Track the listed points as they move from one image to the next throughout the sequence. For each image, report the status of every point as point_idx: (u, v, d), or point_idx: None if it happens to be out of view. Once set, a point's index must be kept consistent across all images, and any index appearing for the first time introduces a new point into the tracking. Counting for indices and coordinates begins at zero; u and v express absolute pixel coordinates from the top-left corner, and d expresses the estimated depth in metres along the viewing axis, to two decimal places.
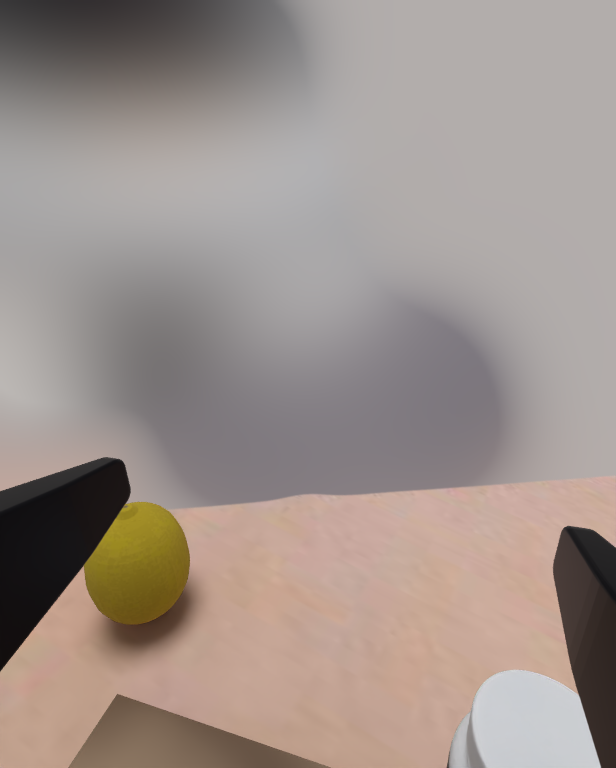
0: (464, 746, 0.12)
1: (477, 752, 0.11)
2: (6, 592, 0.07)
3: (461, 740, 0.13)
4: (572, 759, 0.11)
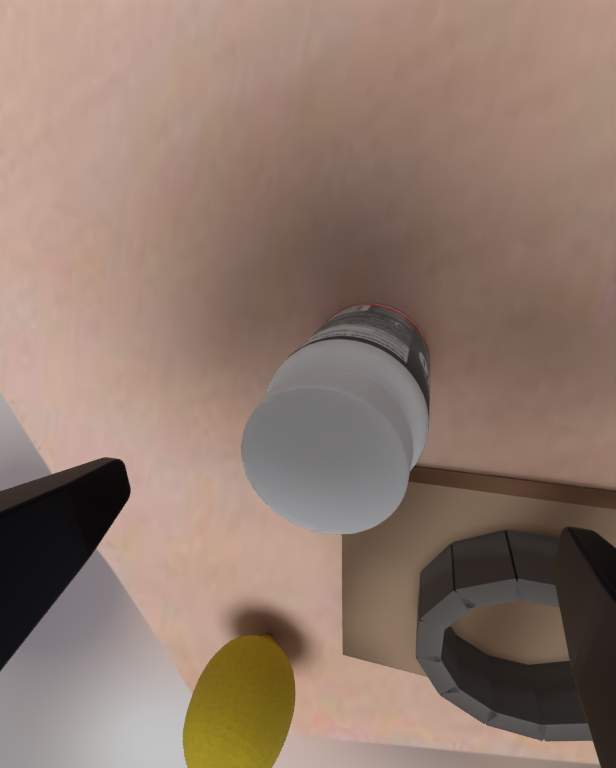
0: None
1: (347, 532, 0.10)
2: (6, 592, 0.07)
3: None
4: (329, 449, 0.09)
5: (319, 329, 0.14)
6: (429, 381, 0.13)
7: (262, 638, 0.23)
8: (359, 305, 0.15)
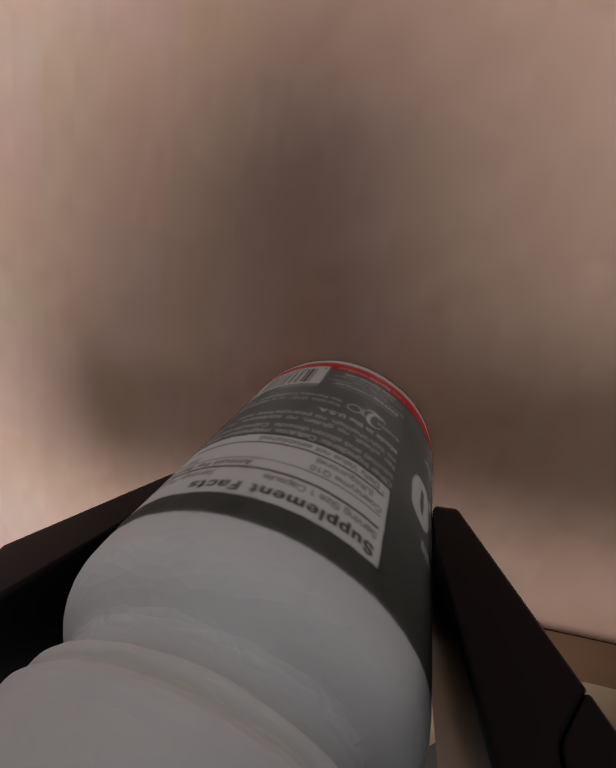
0: None
1: None
2: None
3: None
4: None
5: (228, 422, 0.07)
6: None
7: None
8: (312, 366, 0.09)
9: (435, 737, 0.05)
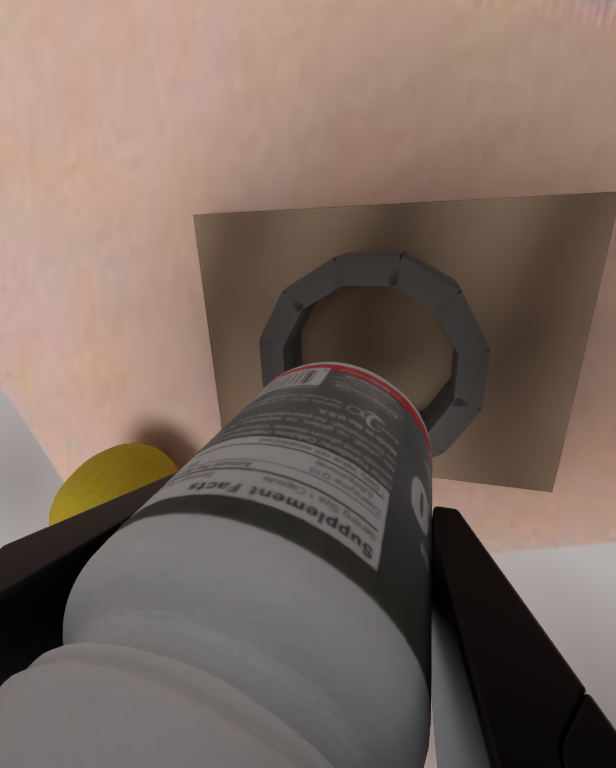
0: None
1: None
2: None
3: None
4: None
5: (228, 424, 0.07)
6: (431, 526, 0.07)
7: (149, 445, 0.23)
8: (312, 367, 0.09)
9: (435, 737, 0.05)
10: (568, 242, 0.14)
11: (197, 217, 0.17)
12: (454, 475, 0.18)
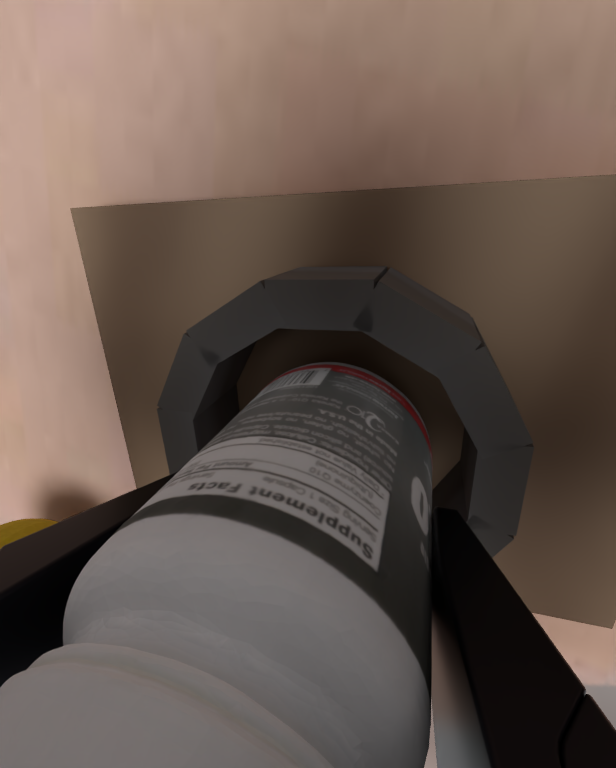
0: None
1: None
2: None
3: None
4: None
5: (228, 424, 0.07)
6: (431, 526, 0.07)
7: (51, 520, 0.17)
8: (312, 367, 0.09)
9: (435, 737, 0.05)
10: None
11: (76, 212, 0.11)
12: None
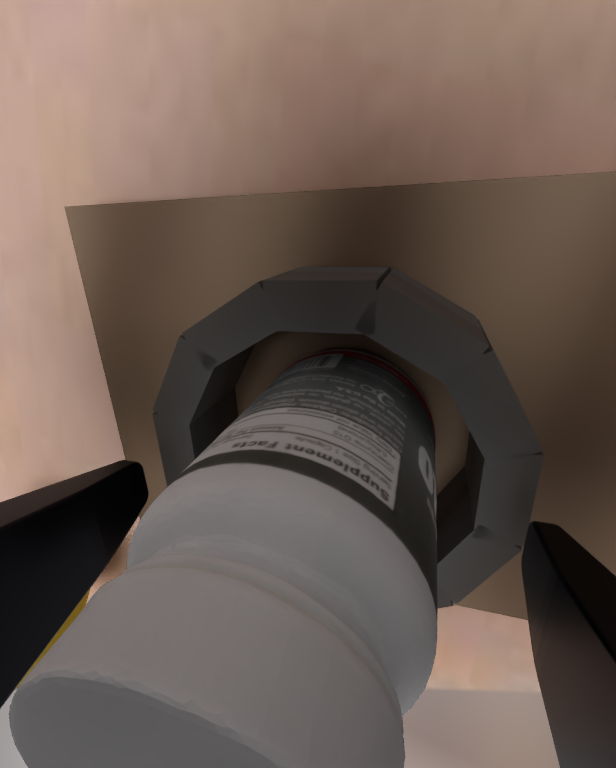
0: None
1: None
2: (27, 598, 0.07)
3: None
4: None
5: (255, 401, 0.08)
6: None
7: None
8: (326, 353, 0.10)
9: None
10: None
11: (70, 210, 0.11)
12: (468, 601, 0.12)
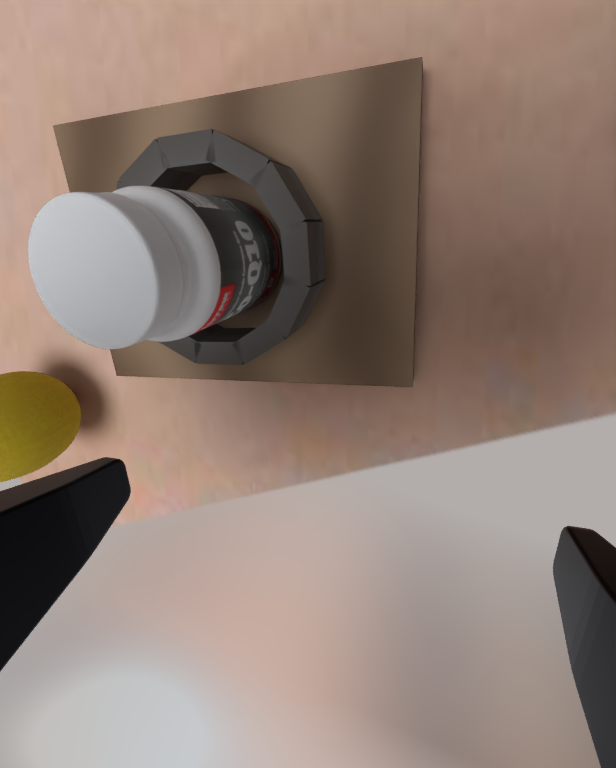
0: None
1: (130, 345, 0.11)
2: (6, 592, 0.07)
3: None
4: (92, 256, 0.10)
5: None
6: (257, 252, 0.14)
7: (48, 375, 0.23)
8: None
9: None
10: (384, 116, 0.14)
11: (56, 127, 0.18)
12: (323, 378, 0.19)
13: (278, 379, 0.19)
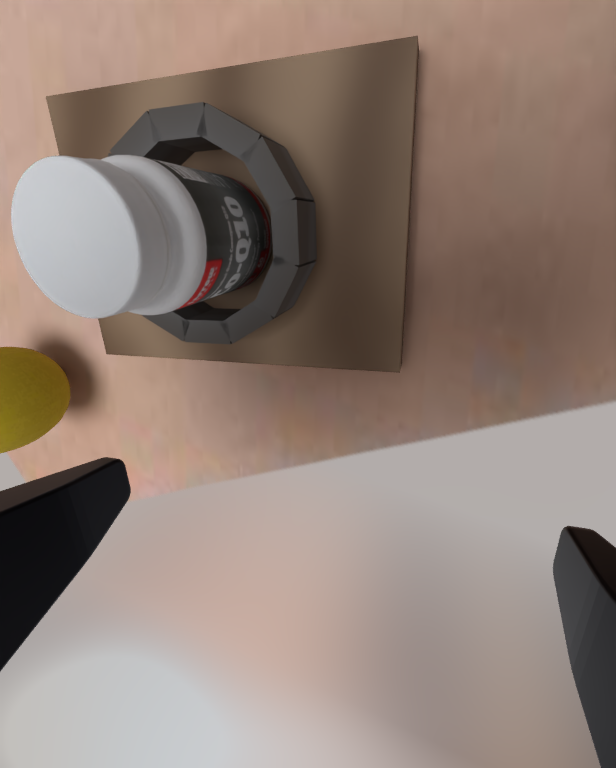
0: None
1: None
2: (6, 592, 0.07)
3: None
4: (74, 222, 0.10)
5: None
6: (247, 229, 0.14)
7: None
8: None
9: None
10: (379, 96, 0.14)
11: (49, 98, 0.18)
12: (311, 361, 0.19)
13: (267, 361, 0.19)
